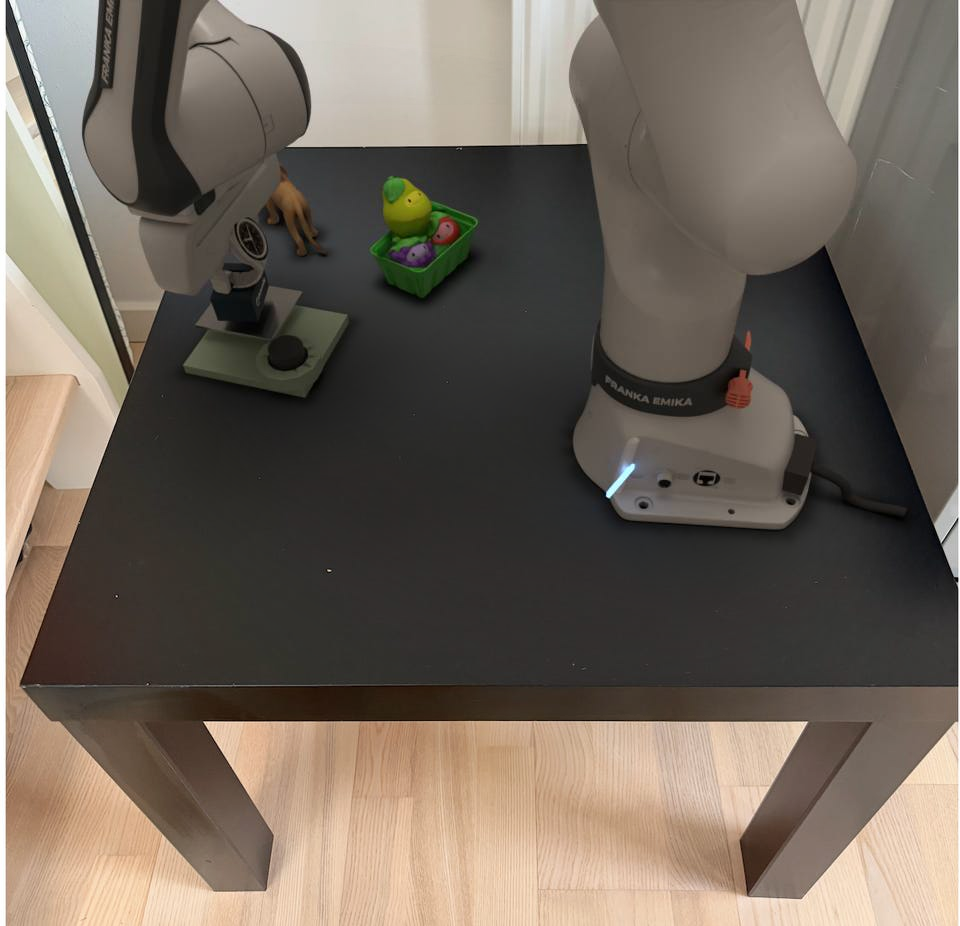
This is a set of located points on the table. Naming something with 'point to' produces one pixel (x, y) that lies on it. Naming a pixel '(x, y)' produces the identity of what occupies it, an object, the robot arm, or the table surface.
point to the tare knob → (286, 353)
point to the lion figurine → (293, 212)
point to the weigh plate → (270, 320)
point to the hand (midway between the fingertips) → (237, 272)
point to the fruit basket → (420, 238)
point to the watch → (244, 275)
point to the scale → (251, 357)
